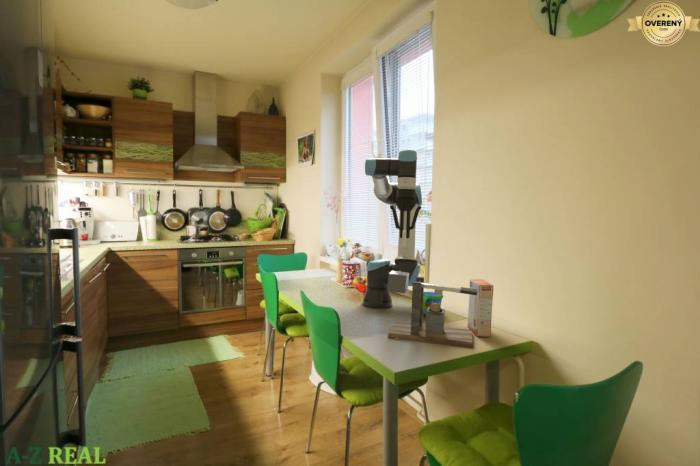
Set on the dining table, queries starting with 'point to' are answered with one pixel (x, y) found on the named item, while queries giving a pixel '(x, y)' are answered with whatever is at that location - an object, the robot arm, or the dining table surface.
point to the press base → (432, 338)
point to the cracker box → (480, 308)
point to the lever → (400, 285)
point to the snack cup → (430, 300)
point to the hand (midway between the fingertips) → (404, 246)
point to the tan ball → (435, 307)
